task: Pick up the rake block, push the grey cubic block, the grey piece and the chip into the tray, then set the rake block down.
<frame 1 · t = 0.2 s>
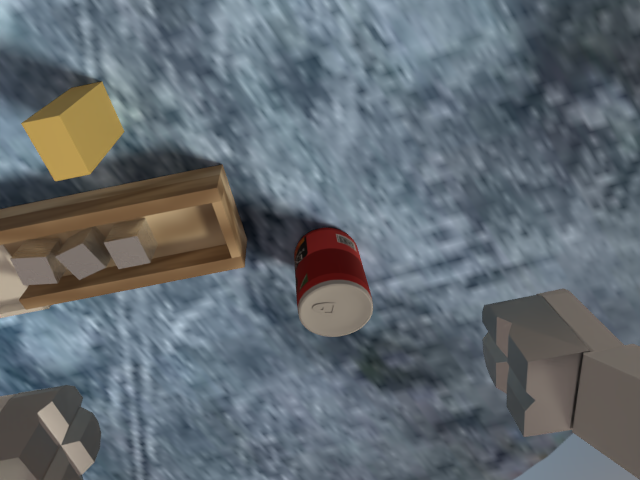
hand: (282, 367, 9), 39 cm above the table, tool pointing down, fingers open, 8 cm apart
rake block: (98, 110, 43), on the table
canned food: (325, 250, 55), on the table
grey cubic block: (136, 234, 48), point 2 cm above the table, touching slot board
chip c: (48, 251, 48), point 2 cm above the table, touching slot board
grey piece: (92, 243, 48), point 2 cm above the table, touching slot board
slot board: (129, 225, 50), on the table
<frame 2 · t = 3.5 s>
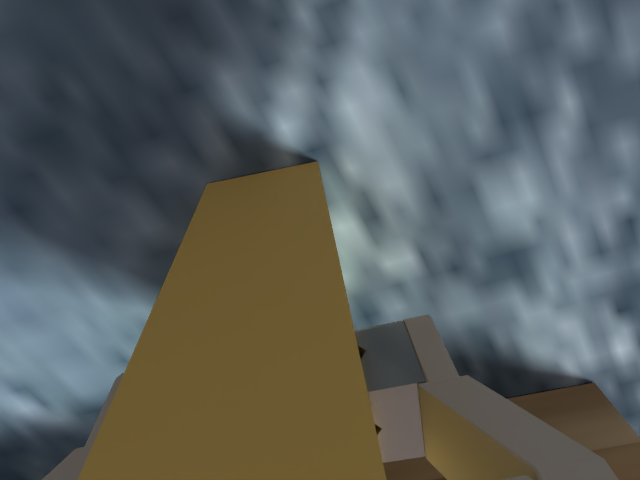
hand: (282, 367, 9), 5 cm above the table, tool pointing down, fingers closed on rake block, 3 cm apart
rake block: (283, 252, 13), on the table, touching gripper
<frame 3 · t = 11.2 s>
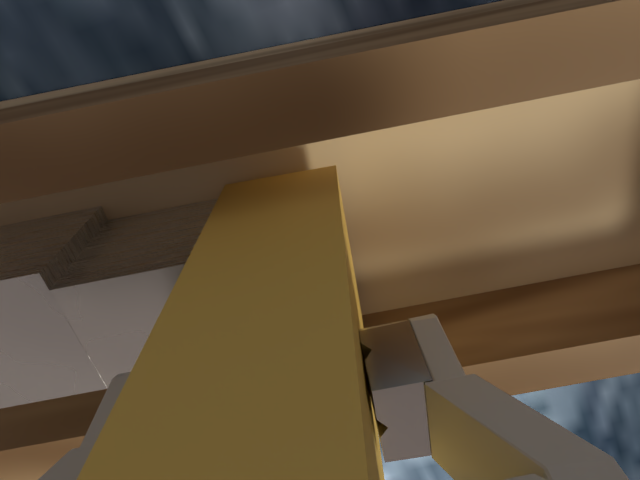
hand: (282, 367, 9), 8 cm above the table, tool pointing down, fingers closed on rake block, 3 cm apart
rake block: (299, 254, 13), point 3 cm above the table, touching grey cubic block, gripper
grey cubic block: (187, 259, 13), point 3 cm above the table, touching grey piece, rake block
grey piece: (69, 269, 13), point 3 cm above the table, touching grey cubic block, chip c, slot board
slot board: (331, 194, 15), on the table
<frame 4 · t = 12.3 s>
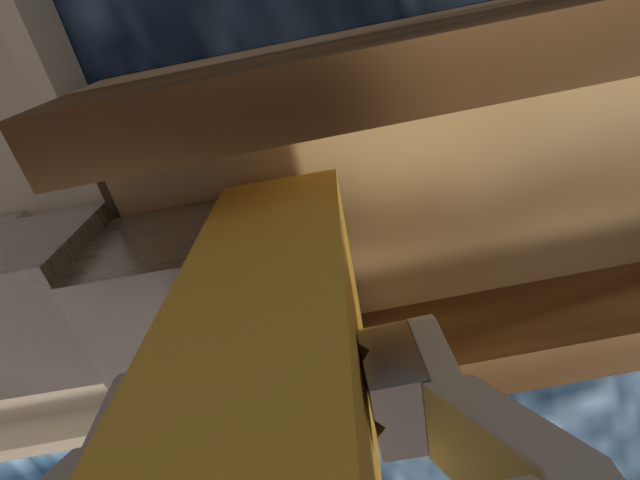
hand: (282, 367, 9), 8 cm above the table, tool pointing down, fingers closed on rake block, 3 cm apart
rake block: (298, 259, 13), point 3 cm above the table, touching gripper
grey cubic block: (189, 260, 13), point 3 cm above the table, touching grey piece, slot board
grey piece: (74, 263, 13), point 2 cm above the table, touching grey cubic block, chip c
slot board: (511, 158, 15), on the table
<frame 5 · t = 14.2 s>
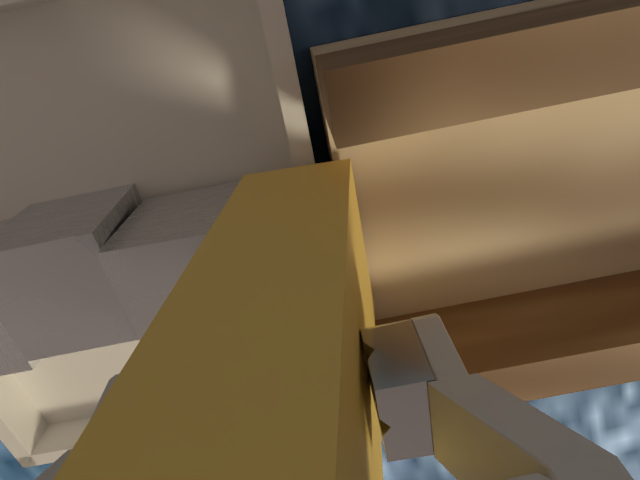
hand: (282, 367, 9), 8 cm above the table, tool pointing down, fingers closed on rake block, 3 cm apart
rake block: (313, 245, 13), point 3 cm above the table, tilted 8°, touching grey cubic block, gripper
grey cubic block: (213, 237, 15), point 1 cm above the table, touching grey piece, rake block
tray: (129, 241, 15), on the table
chip c: (33, 287, 14), point 2 cm above the table, tilted 90°, touching grey piece, tray
grey piece: (104, 240, 15), point 1 cm above the table, touching grey cubic block, chip c
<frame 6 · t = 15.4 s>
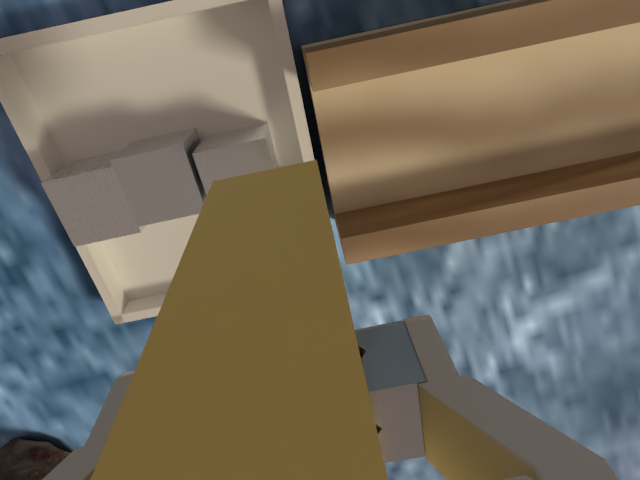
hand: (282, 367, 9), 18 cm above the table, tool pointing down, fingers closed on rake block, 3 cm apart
rake block: (284, 246, 13), point 12 cm above the table, touching gripper
grey cubic block: (244, 160, 24), resting on tray
tray: (190, 168, 25), on the table
chip c: (138, 188, 23), point 2 cm above the table, tilted 90°, touching grey piece, tray
grey piece: (175, 165, 24), resting on tray, touching chip c
candle: (51, 461, 35), on the table
slot board: (539, 94, 24), on the table
when the fingers open (6 cm above the table, at t = 19.8 s): rake block stays where it is, on the table.
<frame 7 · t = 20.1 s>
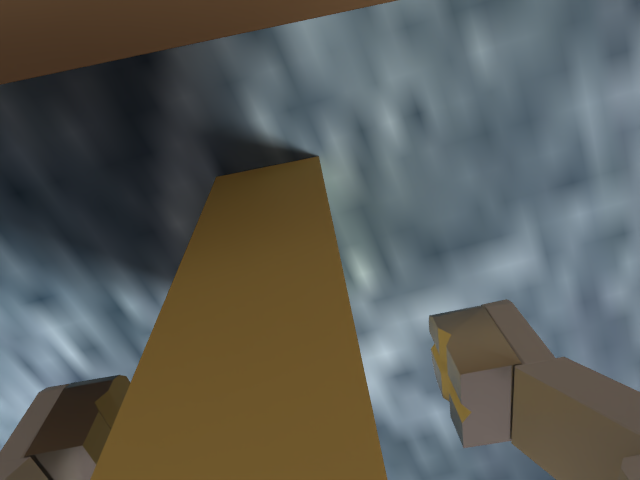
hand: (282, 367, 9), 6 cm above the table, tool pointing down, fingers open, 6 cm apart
rake block: (286, 241, 14), on the table
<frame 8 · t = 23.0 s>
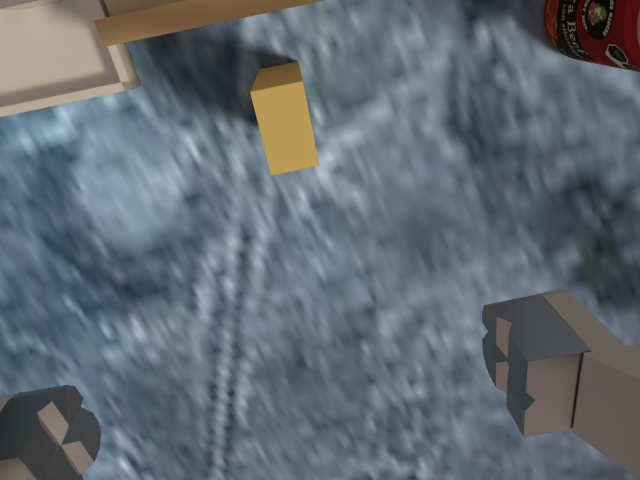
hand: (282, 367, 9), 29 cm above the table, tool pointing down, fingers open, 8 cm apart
rake block: (286, 98, 34), on the table
canned food: (591, 4, 33), on the table
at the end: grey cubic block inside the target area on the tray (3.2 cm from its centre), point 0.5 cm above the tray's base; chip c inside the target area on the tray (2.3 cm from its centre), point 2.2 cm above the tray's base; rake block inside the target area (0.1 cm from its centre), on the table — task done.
